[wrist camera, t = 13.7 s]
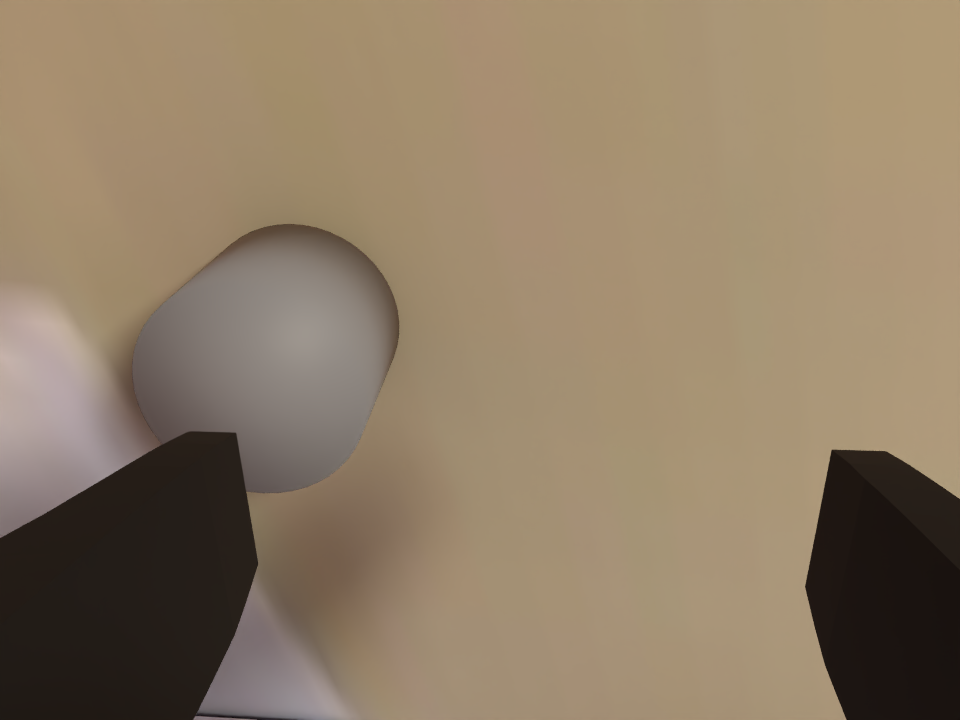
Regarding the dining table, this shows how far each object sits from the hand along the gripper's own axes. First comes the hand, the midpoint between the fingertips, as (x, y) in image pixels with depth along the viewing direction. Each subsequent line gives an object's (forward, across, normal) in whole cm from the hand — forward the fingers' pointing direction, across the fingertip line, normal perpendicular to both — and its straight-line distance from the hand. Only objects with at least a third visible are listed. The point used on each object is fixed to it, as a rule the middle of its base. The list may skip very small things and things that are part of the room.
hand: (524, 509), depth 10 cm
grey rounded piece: (+10, +6, +2) cm, 12 cm away
